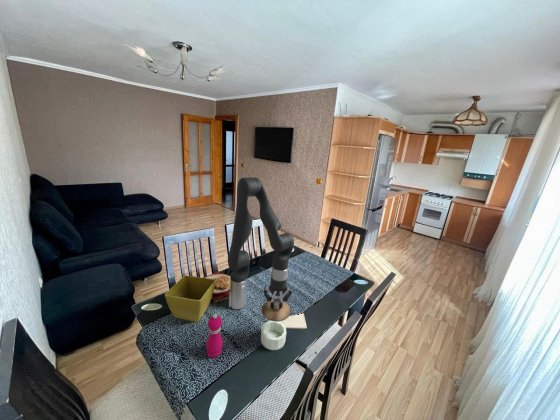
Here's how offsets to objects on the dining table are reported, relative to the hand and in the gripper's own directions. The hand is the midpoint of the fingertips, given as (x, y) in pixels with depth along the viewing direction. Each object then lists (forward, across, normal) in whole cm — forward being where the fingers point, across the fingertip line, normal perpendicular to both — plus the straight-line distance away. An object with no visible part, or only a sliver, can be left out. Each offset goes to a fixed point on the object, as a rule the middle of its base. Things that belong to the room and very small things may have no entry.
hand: (276, 307), depth 106 cm
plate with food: (+22, -28, +36) cm, 50 cm away
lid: (+2, 0, 0) cm, 2 cm away
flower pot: (+19, -44, +17) cm, 51 cm away
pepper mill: (+19, -27, -7) cm, 34 cm away
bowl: (+19, 0, 0) cm, 19 cm away
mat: (+19, +11, +15) cm, 26 cm away
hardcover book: (+20, -33, +35) cm, 52 cm away
